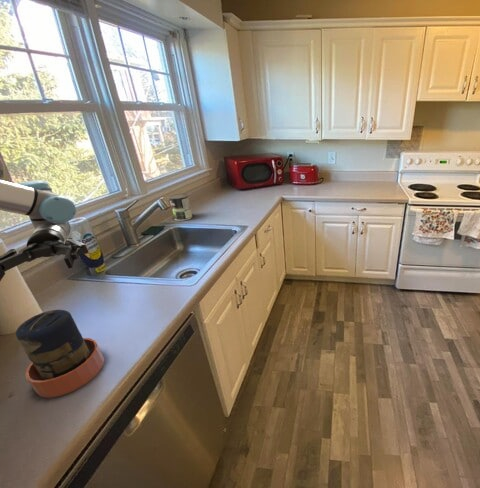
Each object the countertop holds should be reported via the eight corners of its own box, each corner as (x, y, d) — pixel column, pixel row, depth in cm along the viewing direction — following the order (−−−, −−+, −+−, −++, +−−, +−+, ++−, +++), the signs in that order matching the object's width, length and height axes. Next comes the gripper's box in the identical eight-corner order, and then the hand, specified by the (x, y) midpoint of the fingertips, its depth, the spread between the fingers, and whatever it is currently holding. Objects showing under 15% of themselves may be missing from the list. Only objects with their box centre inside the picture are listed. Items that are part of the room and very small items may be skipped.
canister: (36, 385, 68) (-2, 328, 60) (76, 354, 76) (47, 301, 68) (67, 393, 66) (31, 335, 58) (104, 361, 74) (77, 307, 66)
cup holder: (33, 378, 70) (22, 361, 68) (97, 346, 80) (89, 330, 77) (42, 411, 63) (30, 393, 60) (112, 372, 72) (104, 355, 69)
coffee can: (177, 222, 168) (171, 199, 161) (172, 217, 175) (166, 196, 168) (195, 218, 174) (190, 196, 168) (189, 214, 181) (184, 192, 175)
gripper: (103, 241, 91) (101, 269, 75) (-5, 264, 78) (-35, 303, 62) (94, 219, 87) (90, 244, 71) (-20, 240, 75) (-57, 275, 59)
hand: (31, 272), depth 67 cm, fingers open, 13 cm apart
